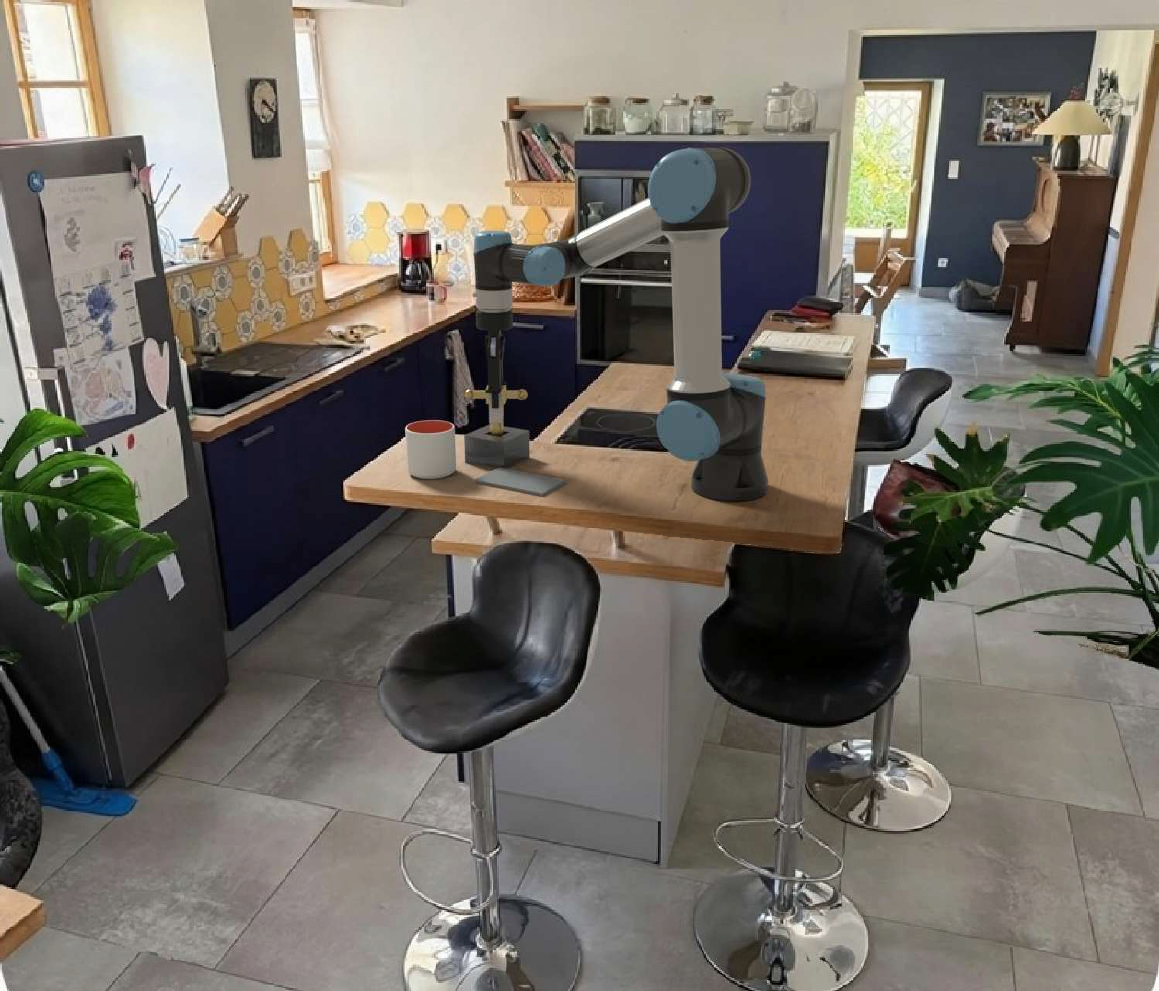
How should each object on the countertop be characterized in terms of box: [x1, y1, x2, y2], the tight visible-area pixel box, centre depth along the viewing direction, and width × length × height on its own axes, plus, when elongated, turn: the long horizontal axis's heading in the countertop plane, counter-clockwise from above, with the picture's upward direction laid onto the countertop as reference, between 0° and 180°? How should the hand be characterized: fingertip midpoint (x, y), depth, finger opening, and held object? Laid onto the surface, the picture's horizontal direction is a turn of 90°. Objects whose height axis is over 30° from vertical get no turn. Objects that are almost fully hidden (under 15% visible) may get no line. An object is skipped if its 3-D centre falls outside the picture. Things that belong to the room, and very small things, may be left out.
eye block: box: [463, 424, 530, 469], centre depth 219 cm, size 10×10×6 cm
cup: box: [404, 419, 457, 480], centre depth 210 cm, size 10×10×10 cm
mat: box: [474, 467, 566, 497], centre depth 206 cm, size 16×9×1 cm, turn 61°
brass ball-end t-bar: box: [464, 384, 528, 437], centre depth 217 cm, size 13×4×16 cm, turn 91°
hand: (496, 418), depth 217 cm, fingers closed on brass ball-end t-bar, 4 cm apart
